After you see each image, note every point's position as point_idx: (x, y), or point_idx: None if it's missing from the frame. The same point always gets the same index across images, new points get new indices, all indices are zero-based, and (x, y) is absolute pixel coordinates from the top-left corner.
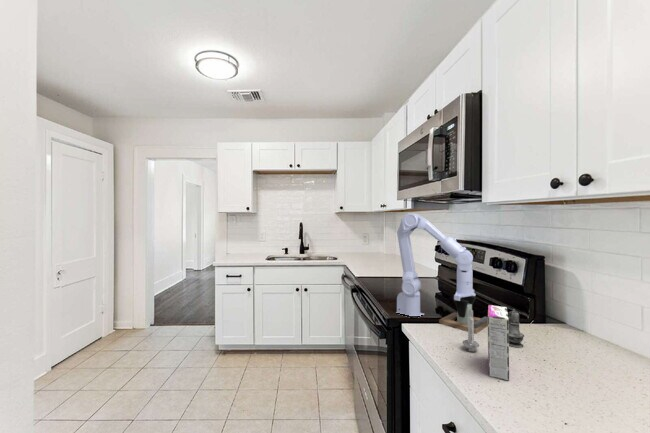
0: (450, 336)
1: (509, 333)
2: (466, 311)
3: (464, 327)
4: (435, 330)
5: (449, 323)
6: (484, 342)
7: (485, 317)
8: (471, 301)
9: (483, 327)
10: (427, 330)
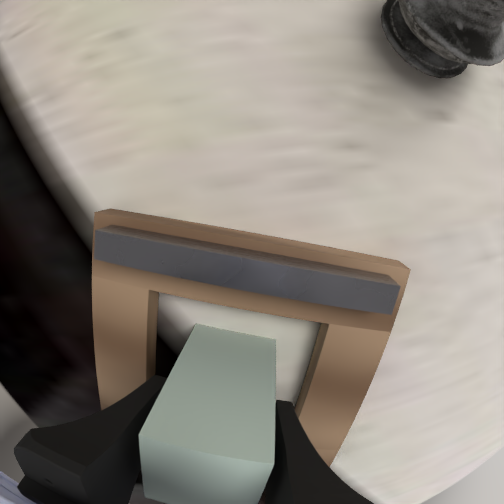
0: (489, 363)
1: (501, 34)
2: (271, 427)
3: (380, 349)
4: (434, 436)
5: (344, 432)
6: (500, 191)
7: (118, 247)
8: (110, 456)
9: (246, 234)
10: (444, 452)
